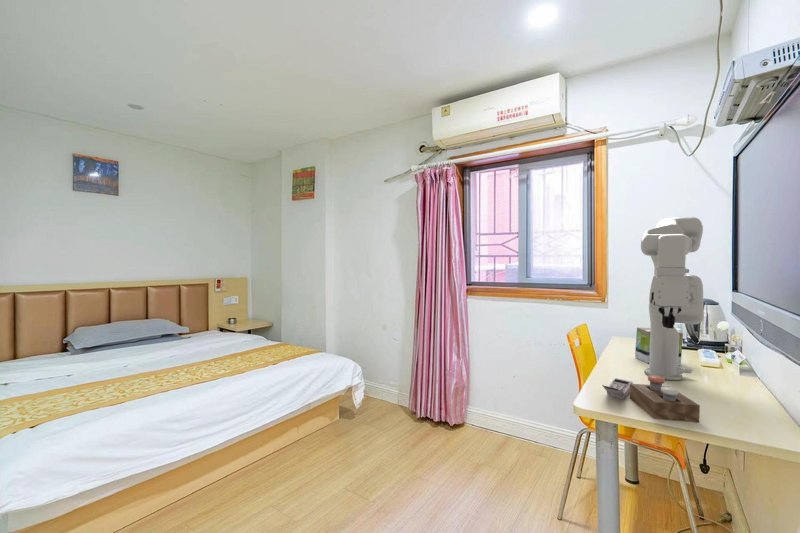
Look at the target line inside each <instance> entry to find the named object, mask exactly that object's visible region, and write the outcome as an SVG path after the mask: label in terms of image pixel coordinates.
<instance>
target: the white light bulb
mask: <svg viewBox="0 0 800 533" xmlns="http://www.w3.org/2000/svg"><path fill="white" fill-rule="evenodd" d="M662 386H663V387H661V392H662V393H663V399H664V400H665V401H676V396H678V395H679V393H680V390H679V389H677V388H675V387H672V386H670V387H666V386H667V385H662Z"/></svg>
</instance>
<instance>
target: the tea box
mask: <svg viewBox="0 0 800 533" xmlns="http://www.w3.org/2000/svg"><path fill="white" fill-rule="evenodd" d="M650 332H651V327H637V328H636V335H635V337H636V338H635V352H634V353H635V354H634V358H636V359H638V360H640V361H642V362H644V363H646V364H649V358H650ZM678 333H679V356H678V365H681V364H682V353H683V351H682V349H683V336H684V334H683V332H680V331H678Z"/></svg>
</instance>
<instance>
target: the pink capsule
mask: <svg viewBox="0 0 800 533" xmlns="http://www.w3.org/2000/svg"><path fill="white" fill-rule="evenodd" d="M647 381H649V385H650V390H651V391H658V392H661V387H662V386H663V384H665V379H664V378H663V377H660V376H654V375H647Z"/></svg>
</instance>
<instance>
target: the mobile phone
mask: <svg viewBox="0 0 800 533" xmlns="http://www.w3.org/2000/svg"><path fill="white" fill-rule="evenodd" d="M630 384H634V383H633V381H631V380H626V379H622V378H617V377H616V378H614V379H613V380H612V381H611V382H610V384H609V385H605V384H602V385H601V386H602V387H603V389H604V390H605V391H606V395H607V396H609V397H613V398H617V399H621V400H625V398H626V397H627V396H628V394H630Z"/></svg>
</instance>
